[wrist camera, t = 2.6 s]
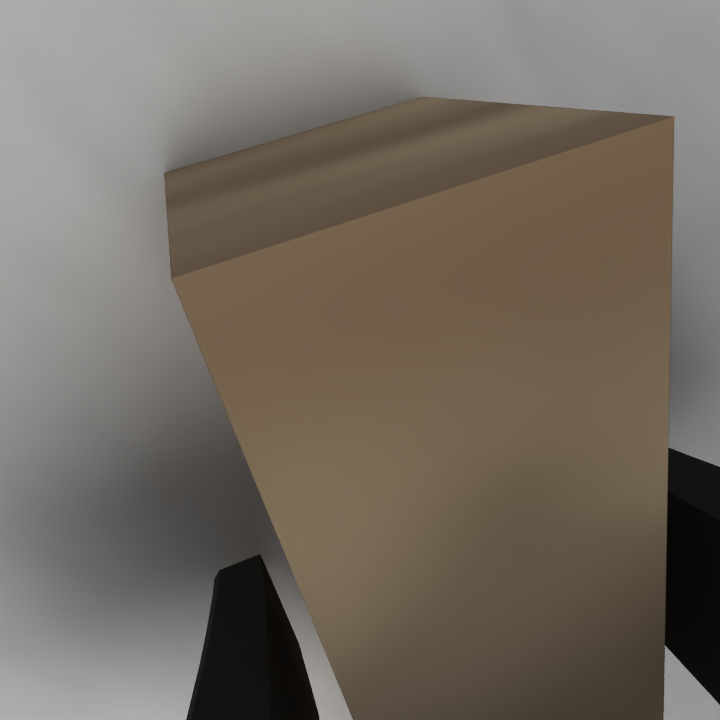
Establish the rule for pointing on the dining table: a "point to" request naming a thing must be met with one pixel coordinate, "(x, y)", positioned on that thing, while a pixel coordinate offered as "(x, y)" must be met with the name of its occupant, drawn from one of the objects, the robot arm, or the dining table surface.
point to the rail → (453, 394)
